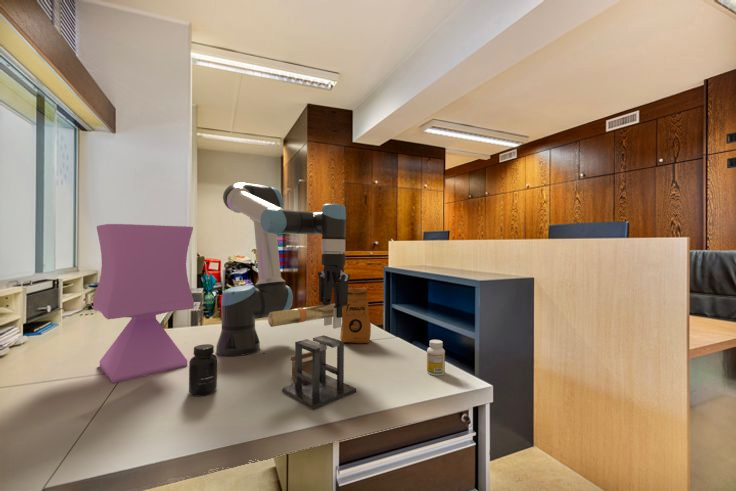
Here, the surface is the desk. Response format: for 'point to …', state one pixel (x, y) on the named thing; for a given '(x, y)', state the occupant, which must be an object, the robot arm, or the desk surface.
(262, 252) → the robot arm
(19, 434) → the desk surface
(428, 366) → the supplement bottle
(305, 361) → the block
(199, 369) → the supplement bottle
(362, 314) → the coffee package
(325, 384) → the collar stand
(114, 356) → the pink table lamp
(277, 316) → the air tube
